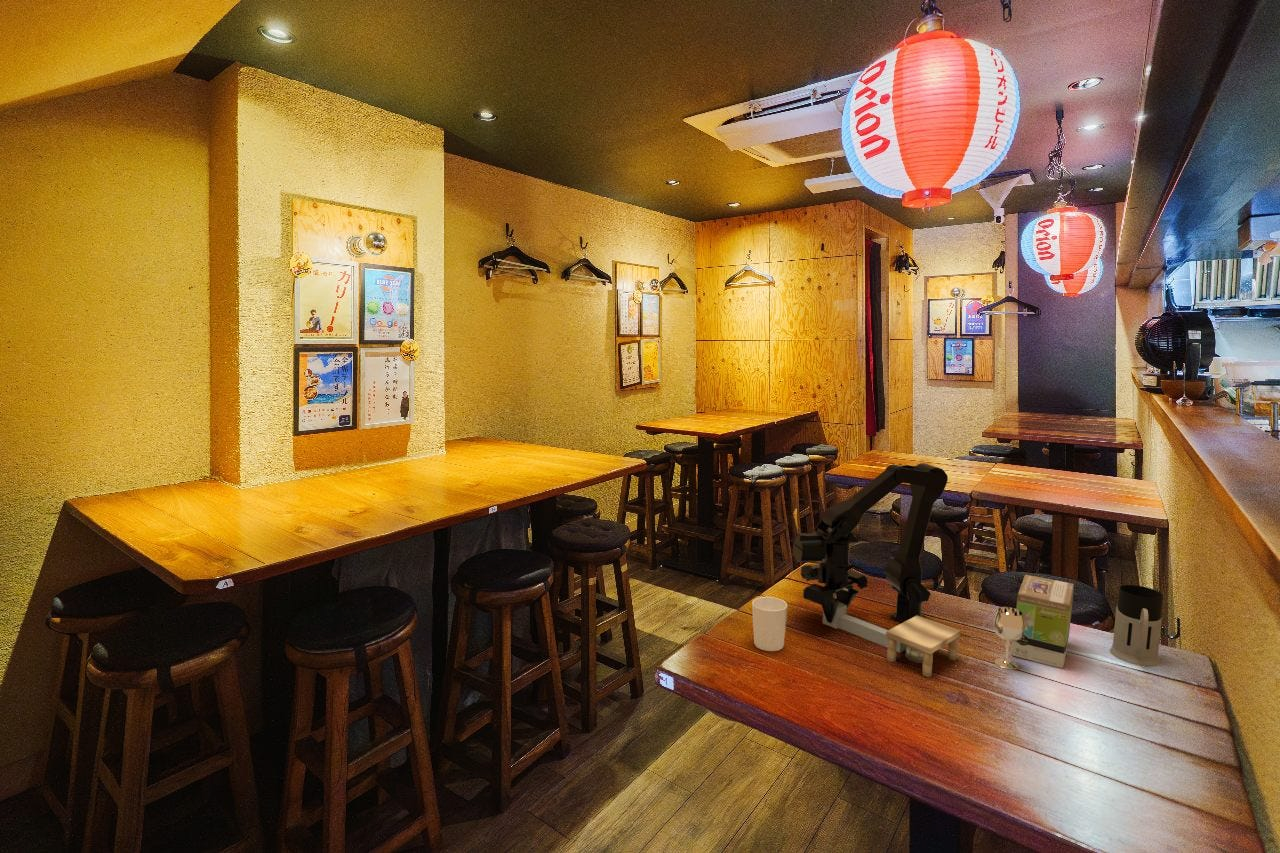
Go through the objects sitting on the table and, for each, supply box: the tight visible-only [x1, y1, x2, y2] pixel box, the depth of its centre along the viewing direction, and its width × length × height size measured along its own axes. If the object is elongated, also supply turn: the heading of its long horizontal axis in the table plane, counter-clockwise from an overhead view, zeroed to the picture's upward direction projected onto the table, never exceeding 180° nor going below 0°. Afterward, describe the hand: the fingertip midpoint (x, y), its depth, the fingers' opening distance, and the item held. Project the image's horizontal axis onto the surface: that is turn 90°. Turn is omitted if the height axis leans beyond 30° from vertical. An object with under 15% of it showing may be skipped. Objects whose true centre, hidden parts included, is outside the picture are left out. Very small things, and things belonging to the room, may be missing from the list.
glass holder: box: [1109, 584, 1164, 667], centre depth 135 cm, size 9×14×15 cm, turn 148°
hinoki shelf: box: [886, 616, 962, 678], centre depth 137 cm, size 13×10×6 cm
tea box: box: [1011, 574, 1075, 669], centre depth 140 cm, size 15×10×15 cm, turn 143°
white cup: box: [751, 596, 788, 652], centre depth 144 cm, size 8×8×10 cm
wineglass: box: [993, 606, 1025, 670], centre depth 134 cm, size 6×6×12 cm
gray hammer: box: [822, 602, 906, 654], centre depth 148 cm, size 4×20×5 cm, turn 38°
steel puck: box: [904, 645, 923, 664], centre depth 138 cm, size 5×5×3 cm
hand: (834, 619), depth 155 cm, fingers closed on gray hammer, 4 cm apart
